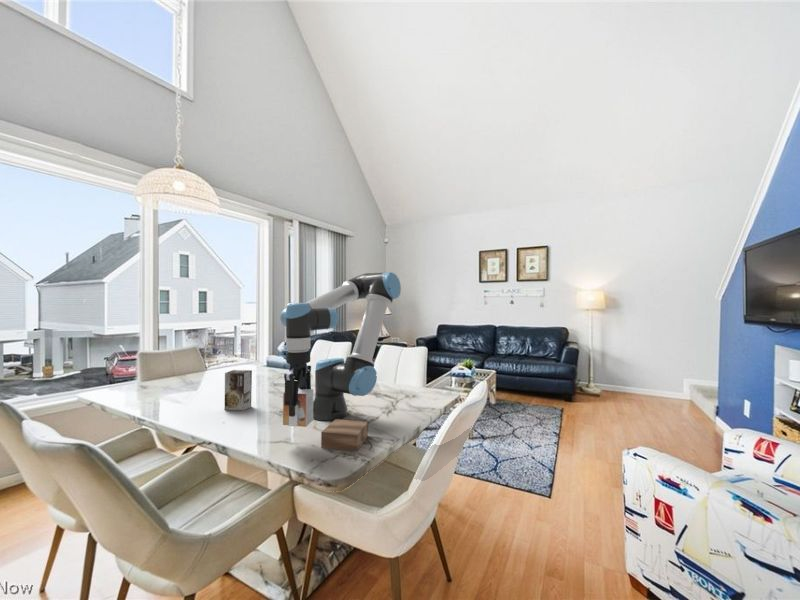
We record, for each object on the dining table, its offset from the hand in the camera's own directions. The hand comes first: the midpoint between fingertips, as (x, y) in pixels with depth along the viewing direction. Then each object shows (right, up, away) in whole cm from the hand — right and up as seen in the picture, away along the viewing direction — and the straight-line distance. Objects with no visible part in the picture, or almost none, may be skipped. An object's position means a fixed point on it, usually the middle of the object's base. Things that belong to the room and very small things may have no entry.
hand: (298, 421), depth 104 cm
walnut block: (+15, -8, +4) cm, 17 cm away
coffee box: (-38, -8, +37) cm, 54 cm away
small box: (0, -1, 0) cm, 1 cm away
